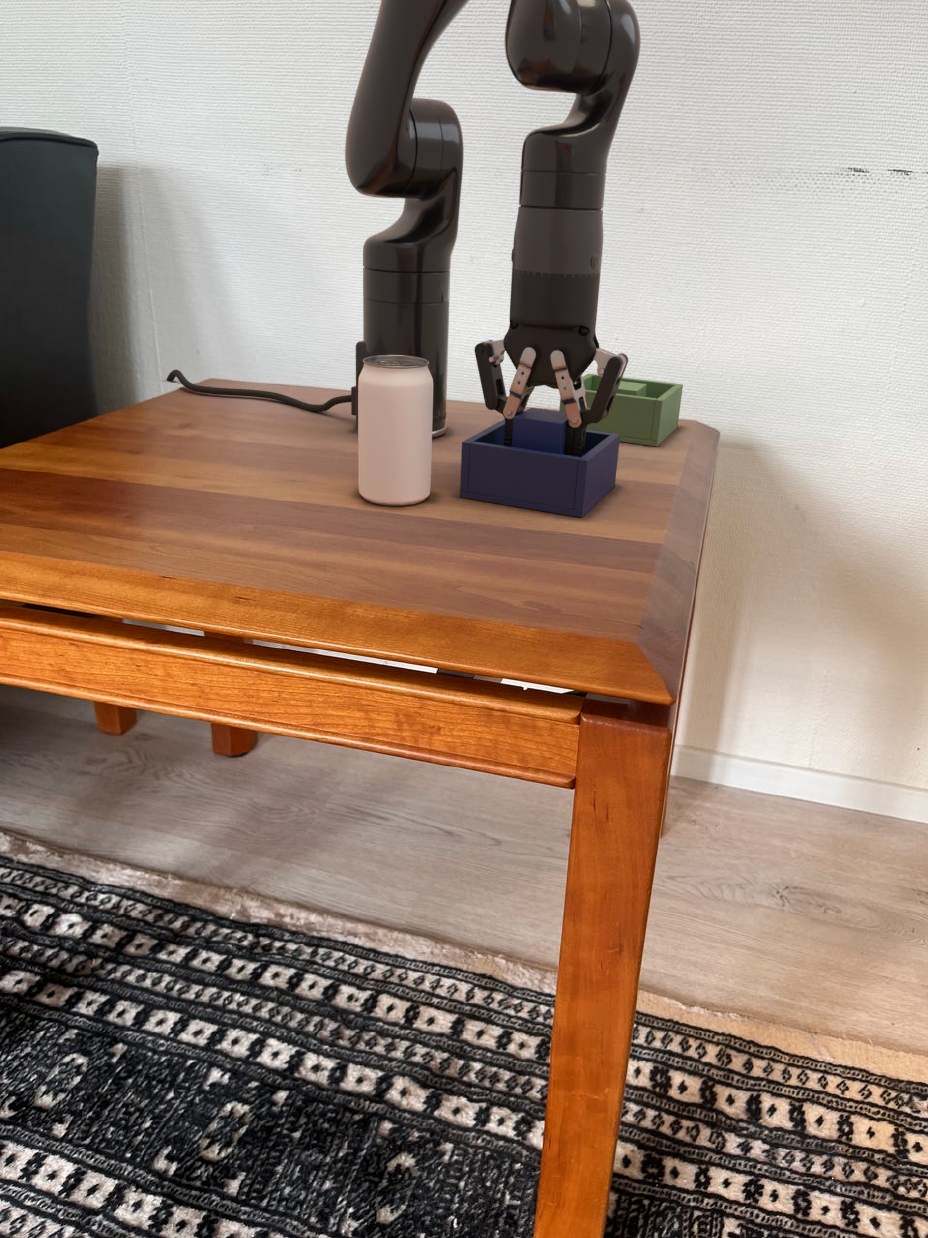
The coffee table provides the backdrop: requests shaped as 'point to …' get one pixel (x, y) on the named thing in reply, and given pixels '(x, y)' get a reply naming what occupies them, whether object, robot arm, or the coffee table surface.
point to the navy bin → (538, 473)
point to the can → (395, 429)
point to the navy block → (540, 430)
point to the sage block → (632, 389)
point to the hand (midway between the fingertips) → (542, 461)
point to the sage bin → (638, 411)
